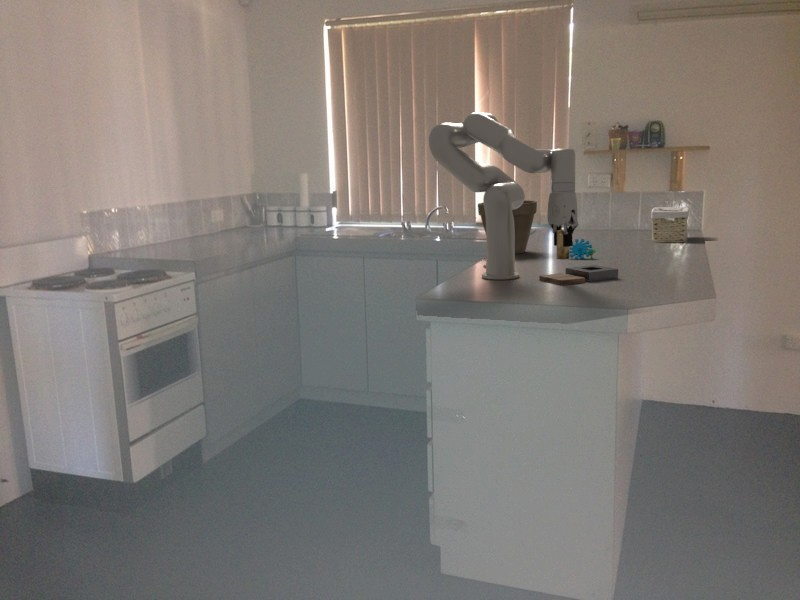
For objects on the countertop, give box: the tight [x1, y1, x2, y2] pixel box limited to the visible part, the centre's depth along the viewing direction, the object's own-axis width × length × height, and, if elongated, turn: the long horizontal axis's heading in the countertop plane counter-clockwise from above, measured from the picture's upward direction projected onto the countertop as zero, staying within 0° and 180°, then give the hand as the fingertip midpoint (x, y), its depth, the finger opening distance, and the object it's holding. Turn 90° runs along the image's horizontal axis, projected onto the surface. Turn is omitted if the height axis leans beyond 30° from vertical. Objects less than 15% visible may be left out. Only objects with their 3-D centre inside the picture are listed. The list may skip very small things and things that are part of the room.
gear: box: [569, 238, 596, 261], centre depth 284 cm, size 11×6×10 cm
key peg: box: [556, 229, 570, 260], centre depth 230 cm, size 4×4×9 cm
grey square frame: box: [565, 264, 619, 282], centre depth 238 cm, size 12×12×3 cm
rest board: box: [538, 272, 586, 286], centre depth 232 cm, size 12×9×2 cm
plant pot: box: [477, 199, 538, 255], centre depth 307 cm, size 25×25×22 cm
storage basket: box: [650, 206, 690, 243], centre depth 334 cm, size 24×16×15 cm
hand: (563, 245), depth 230 cm, fingers closed on key peg, 4 cm apart
